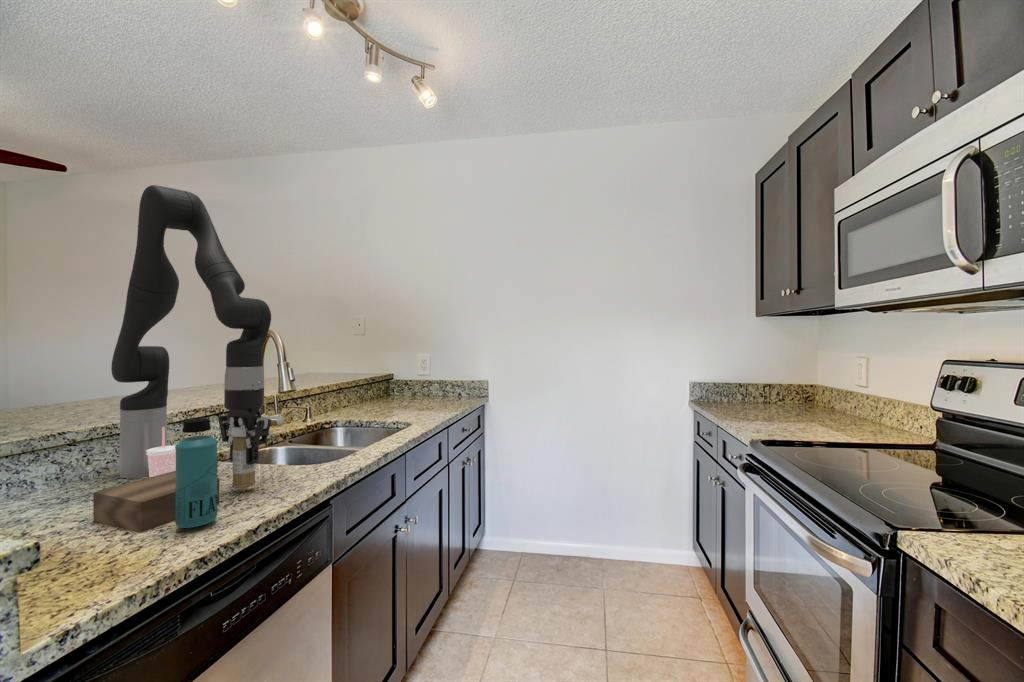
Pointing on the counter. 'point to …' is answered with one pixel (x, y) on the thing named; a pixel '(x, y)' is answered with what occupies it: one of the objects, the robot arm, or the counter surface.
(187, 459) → the beverage bottle
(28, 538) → the counter surface
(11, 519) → the counter surface
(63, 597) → the counter surface
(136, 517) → the walnut block
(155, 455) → the beverage cup
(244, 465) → the brown spice jar
